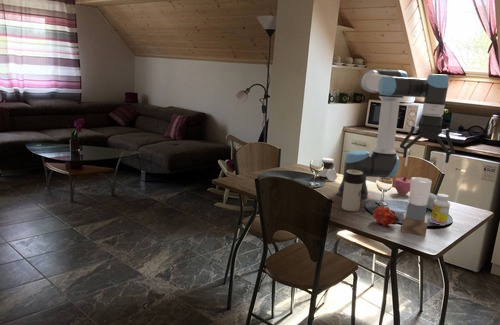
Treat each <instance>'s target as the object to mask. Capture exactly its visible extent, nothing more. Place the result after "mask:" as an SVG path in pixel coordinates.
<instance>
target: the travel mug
mask: <svg viewBox="0 0 500 325" xmlns="http://www.w3.org/2000/svg"><path fill="white" fill-rule="evenodd" d="M346 172H347V175H346V177H345V182H344V191H343V197H342V202H341V208H342V209H343V210H345V211H348V212H358V211H359V210H360V204H361V199H360V198H361V190H362V182H363V179H362V174H363V172H361V171H358V170H347V171H346Z"/></svg>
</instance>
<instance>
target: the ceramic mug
mask: <svg viewBox="0 0 500 325" xmlns="http://www.w3.org/2000/svg"><path fill="white" fill-rule="evenodd" d="M436 199H437V194H434V193H432V192H430V194H429V198H428V202H427V208H428V209H427V208H426V209H427V210H429V209H430V211H431V210H432V208H433V202H434V200H436Z"/></svg>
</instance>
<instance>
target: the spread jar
mask: <svg viewBox="0 0 500 325" xmlns="http://www.w3.org/2000/svg"><path fill="white" fill-rule="evenodd" d="M321 162H323V163H324V168H323V171H321V172H320V173H319V174H317V175H318V176H317V177H318V178H320V179H321V178H323V179H322V180H326V179H327V180H328V181H329V182H335V181H336V179H337V177H338V174H337V172H336V170H335V163H334V158H330V157H323V158H322V157H321ZM327 180H326V181H327Z"/></svg>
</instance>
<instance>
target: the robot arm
mask: <svg viewBox="0 0 500 325" xmlns="http://www.w3.org/2000/svg"><path fill="white" fill-rule="evenodd" d="M449 80H450V77H449V75H448V74H437V73H436V74H435V73H430V74H428V76H427V78H426V77H425V78H420V77H419V78H418V77H410V76H409V74H408V73H407V72H406V71H404V70H399V69H385V68H384V69H381V68H371V69H368V70H365V71H364V72H363V73H362V74H361V75H360V76H359V86H360V88H361V89H363V90H364V91H366V92H368V93H372V94H373V93H374V94H378V98H379V99H380V101H381V104H380V110H379V111H380V112H379V118H378V120H379V122H378V130H377V137H376V138H377V139H376V146H375V148H374V149H373V150H372V153H371V152H370V151H368V150H362V149H361V150H359V149H357V150H351V151H348V152H347V153H346V155H345V158H344V166H343V175H342V181H341V183H340V185H339V187H338V189H337V190H338V191H337V194H338V195H339V196H340V197H342V198H343V191H344V182H345V177H346V175H347V172H346V171H347V170H358V171H361V172H363V174H362V179H363V182H362V190H361V198H360V200H365V199H367V198H368V197H369V196H368V195H369V191H368V187H367V186H368V185H367V177H370V178H371V177H372V178H384V179H386V178H387V179H389V178H394V177H395V176H396V175H397V174H398V172H399V169H400V164H401V162H400V161H401V159H400V157H399V156H398V155H397V151H396V150H395V143H396V142H395V141H396V134H397V126H398V118H399V109H400V102H401V101H402V100H403V99H404V97H406V98H407V97H409V98H411V97H412V98H424V100H423V105H422V115H421V118H420V124H419V126H415V125H413V124H412V125H411V128H410V130H409V132H408V134H407V135H406V136H405V138H403V140H402V141H401V143H400V145H399V148H401V149H403V154H402V156H403V158H405V160H404V161H405V163H404V167H408V161H409V154H410V149H409V148H411V147H412V146H413V145H414V144H416V143H417V142H418V141H419V140H420V139H422V138H423V139H429V140H436V141H437V143H438V144H439V145H440V147H441V148H442V149H443V151H444V153H443V156H442V162H441V172H444V171H445V168H446V167H445V165H446V164H448V163H449V160H450V156H451V155H455V154H456V149H455V147H454V145H453V141H452V139H451V136H450V129H449V128H446V129H445V128H444V129H443V128H442V123H443V120H444V119H443V115H444V112H445V106H446V105H445V104H446V98H447V94H448V90H449V86H450V85H449ZM416 131H418V132H419V134H418V135H417V136H416V137H415V138H413V139H412V140H411V141H410V142H409V143H407V142H408V140H409V139H410V138H411V136H412V135H413V134H414V133H415V132H416ZM441 133H443V135H444V136H445V138H446V142H447V143H448V147H449V149H450V150H449V149H448V147H447V146H446V144H444V142H443V140H442V139H441V138H440V135H441ZM406 143H407V144H406Z"/></svg>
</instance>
